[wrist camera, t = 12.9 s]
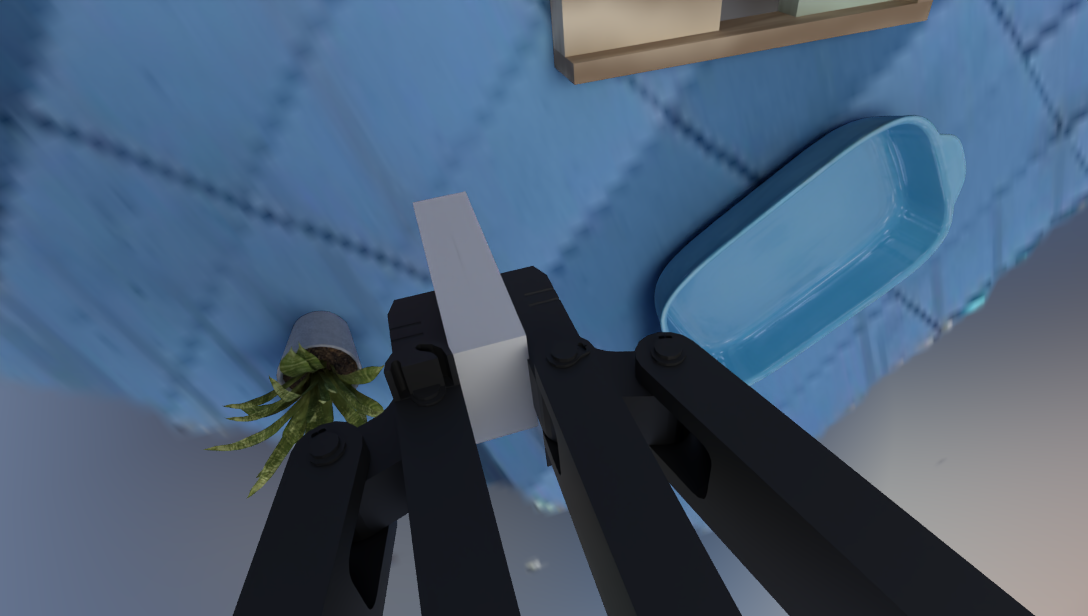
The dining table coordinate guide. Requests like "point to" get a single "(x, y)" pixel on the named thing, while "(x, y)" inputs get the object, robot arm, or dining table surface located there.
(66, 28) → the dining table surface
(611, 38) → the box
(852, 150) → the casserole dish
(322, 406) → the house plant
